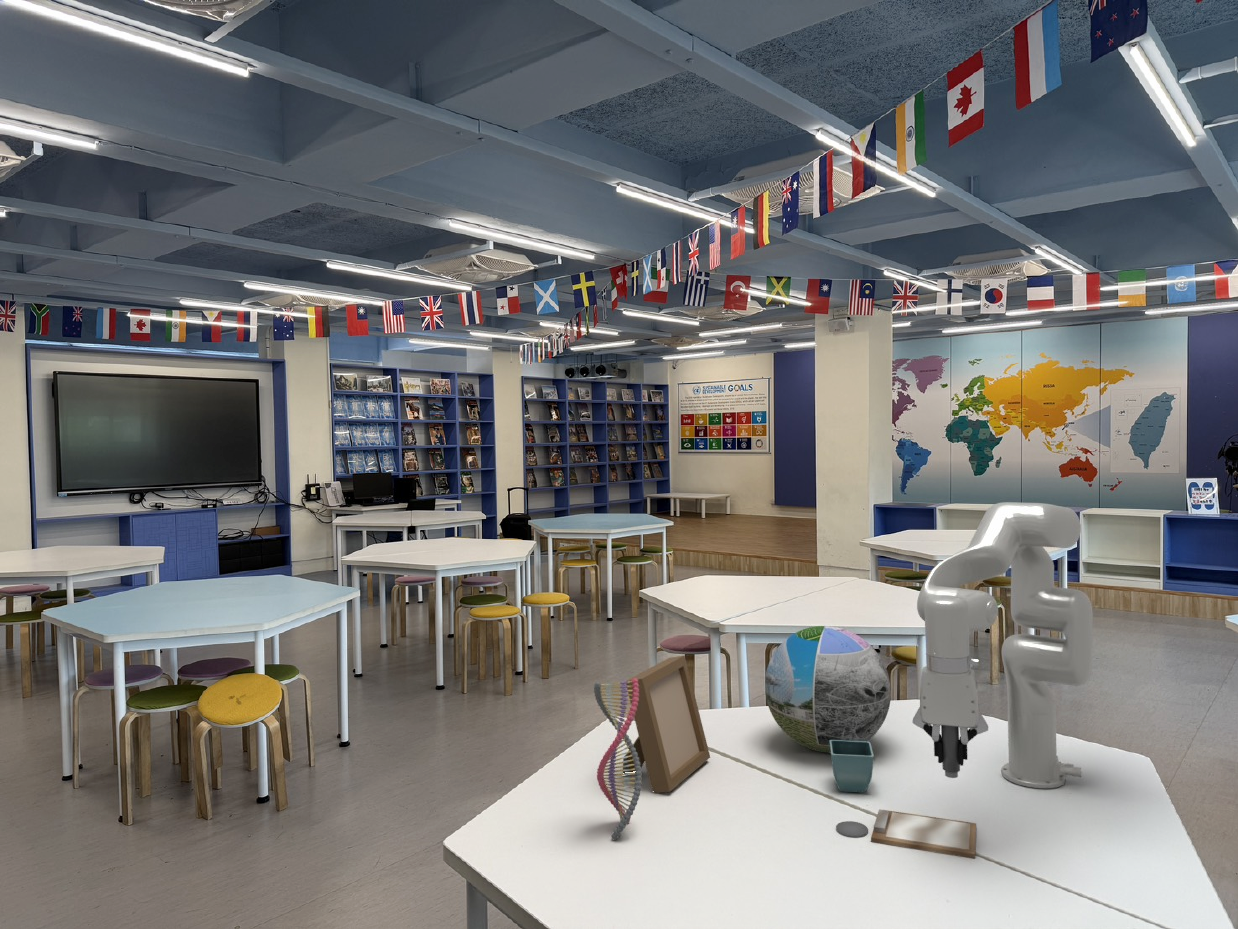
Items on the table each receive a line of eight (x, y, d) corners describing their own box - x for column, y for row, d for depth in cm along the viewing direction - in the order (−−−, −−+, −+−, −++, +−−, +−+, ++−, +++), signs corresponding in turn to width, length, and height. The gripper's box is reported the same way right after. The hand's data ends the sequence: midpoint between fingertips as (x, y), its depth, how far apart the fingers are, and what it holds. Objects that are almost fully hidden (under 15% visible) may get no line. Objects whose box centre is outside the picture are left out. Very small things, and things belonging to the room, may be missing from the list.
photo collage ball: (796, 720, 225) (793, 610, 224) (908, 741, 207) (905, 621, 207) (745, 756, 201) (742, 633, 200) (867, 782, 183) (864, 647, 183)
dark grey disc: (870, 826, 162) (870, 824, 162) (865, 839, 157) (865, 837, 157) (838, 821, 165) (838, 819, 165) (833, 834, 159) (833, 832, 159)
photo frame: (710, 761, 198) (706, 657, 198) (670, 796, 179) (665, 681, 179) (655, 752, 205) (650, 652, 205) (611, 785, 186) (606, 674, 186)
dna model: (649, 823, 166) (644, 675, 166) (635, 844, 158) (630, 688, 157) (607, 818, 169) (602, 672, 169) (591, 838, 161) (586, 685, 160)
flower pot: (875, 798, 175) (874, 755, 175) (832, 795, 177) (831, 754, 177) (871, 781, 184) (870, 741, 184) (830, 779, 186) (829, 739, 185)
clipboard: (976, 827, 161) (976, 818, 160) (975, 858, 149) (974, 848, 149) (879, 813, 168) (879, 804, 168) (871, 841, 156) (870, 832, 156)
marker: (961, 773, 154) (958, 707, 154) (960, 780, 151) (958, 712, 151) (942, 771, 156) (940, 705, 155) (941, 777, 153) (939, 710, 152)
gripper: (996, 661, 153) (999, 759, 154) (903, 655, 160) (906, 749, 160) (996, 672, 146) (999, 775, 147) (899, 665, 153) (902, 764, 153)
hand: (951, 760), depth 153 cm, fingers closed on marker, 3 cm apart
